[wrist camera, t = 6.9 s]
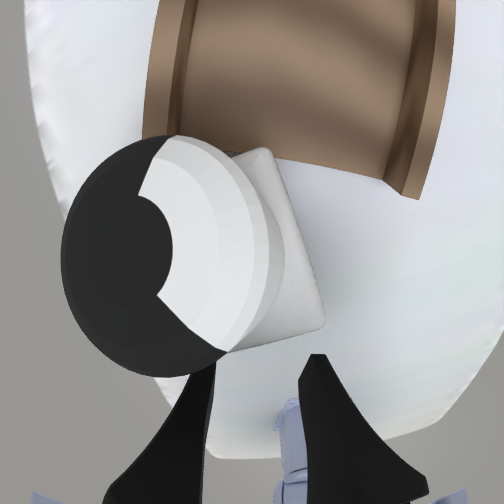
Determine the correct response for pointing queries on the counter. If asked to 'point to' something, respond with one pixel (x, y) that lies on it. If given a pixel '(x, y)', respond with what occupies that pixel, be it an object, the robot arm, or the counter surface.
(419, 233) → the counter surface
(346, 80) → the wooden tray
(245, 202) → the medicine bottle
